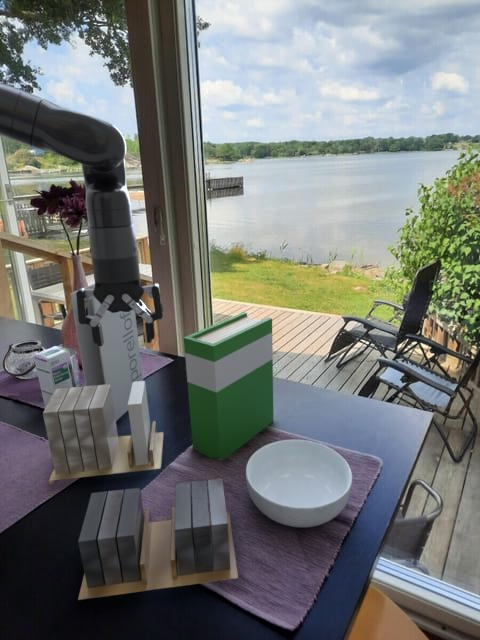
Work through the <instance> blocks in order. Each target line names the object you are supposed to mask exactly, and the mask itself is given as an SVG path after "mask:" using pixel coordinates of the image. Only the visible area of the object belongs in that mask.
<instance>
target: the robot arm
mask: <svg viewBox="0 0 480 640" xmlns="http://www.w3.org/2000/svg"><path fill="white" fill-rule="evenodd" d="M0 137H4V138H7V139H9V140H11V141H14V142H17V143H19V144H23V145H25V146H28V147H30V148H34V149H38V150H41V151H43V152H50V153H54V154H57V155H59V156H61V157H64V158H66V159H68V160H70V161H74V162H76V163H78V164H81V170H82V175H83V180H84V186H85V208H86V217H87V223H88V224H87V225H88V243H89V254H90V258H91V259H90V260H91V265H92V266H91V267H92V272H93V281H94V284H95V288H94V289H86V288H85V287H84V286H81V287H80V288H79V289H78V290H76V291H77V293H76V297H77V308H78V320H79V323H80V324H87V325H90V326H91V328H92V335H93V341H94V343H95V344H96V343H97V345H98V346H103V344H104V339H103V331H102V324H101V323H100V320H101V318H102V317H103V315H104V314H105V312H106V311H107V310H108V311H110V312H111V313H116V312H119V311H122V312H130V311H131V310H134V311H135V314H136V315H138V316H140V317H141V318H142V320H143V321H144V322H145V323H144V328H145V335H146V336H145V337H146V342H147V344H151V343H152V341H153V340H155V337H156V327H155V321H158V320H162V319H163V317H164V307H163V300H162V294H161V287H160V284H159V283H158V282H154V283H153V284H152V285H143V283H142V281H141V272H140V264H139V253H138V244H137V236H136V232H135V228H134V220H133V211H132V201H131V198H130V194H129V191H128V187H127V175H126V174H127V173H126V161H125V157H126V155H127V142H126V140H125V139H126V138H124V135H123V133H122V132H121V131H120V130H119V128H117V127H116V126H115V125H113V124H112V123H109V122H107V121H106V120H103V119H100V118H98V117H95V116H92V115H89V114H86V113H82V112H80V111H76V110H72V109H69V108H65V107H62V106H60V105H58V104H55V103H54V102H52V101H50V100H47V99H46V98H43V97H40V96H37V95H35V94H33V93H30V92H27V91H25V90H23V89H21V88H18V87H14V86H12V85H9V84H6V83H2V82H0ZM144 293H146V294H147V297H148V298H150V299H152V301H153V307H154V311H151V310H150V309H148V307H147V305H146V304H145V303H144V302H143V300H142V299H141V298H142V297H143V295H144ZM93 295H94V297H95V298H96V299H97V300H98V301H99V302H100V303H101V304H102V305H101V306H100V308H99V309H98V311H97V312H96V314H95V315H94V316H90V315H89V313H88V301H89V300H90V299H91V296H93Z"/></svg>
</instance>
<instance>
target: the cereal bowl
mask: <svg viewBox="0 0 480 640" xmlns="http://www.w3.org/2000/svg"><path fill="white" fill-rule="evenodd" d="M245 480H246V488H247V492H248V495H249V497H250V499H251V501H252V502H253V504H254V505H255V506H256V508H257V510H259V511H260V512H261V513H262V514H263V515H264V516H265V517H267V518H269V519H270V520H272V521H274V522H276V523H278V524H280V525H283V526H286V527H287V526H289V527H293V528H313V527H316V526H320V525H323V524H326V523H328V522H330V521H331V520H333V519H334V518H336V517H337V516H338V515H339V514H341V513H342V511H343V509H345V508H346V505H347V504H348V501H349V499H350V497H351V493H352V487H353V473H352V469H351V467H350V465H349V463H348V462H347V461H346V459H345V457H343V456H342V455H341V454H339V452H337V451H336V450H334V449H332V448H331V447H329V446H327V445H324V444H322V443H319V442H316V441H311V440H306V439H305V440H304V439H282V440H277V441H274V442H271V443H267V444H266V445H264V446H261V447H260V448H258V449H257V450H256V451H255V452H253V454H252V455H251V456H250V458H249V459H248V461H247V463H246V467H245Z"/></svg>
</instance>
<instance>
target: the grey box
mask: <svg viewBox="0 0 480 640" xmlns="http://www.w3.org/2000/svg"><path fill="white" fill-rule="evenodd" d="M84 288H86V289H94V288H95V283H93V284H90V285H87V286H85V287H84ZM77 291H78V290H75V291H73V292H70V293H69V295H70V301H71V308H72V314H73V320H74V326H75V332H76V338H77V344H78V350H79V356H80V362H81V367H82V373H83V379H84V384H85V386H94V385H97V386H98V385H106V384H110V386H111V392H112V399H113V406H114V413H115V419H116V422H117V421H118V420H119V419H120V418H121V417H123V415H125V414H126V413H127V412H129V411H128V401H129V397H130V392H131V388H132V383H133V382H138V381H144V375H143V367H142V359H141V351H140V342H139V334H138V325H137V324H138V323H137V317H136V312H135V311H134V310H131V311H130V312H122V311H119V312H116V313H111V312H110V311H108V310H107V311H106V312H105V314H104V315H103V317H102V318H101V320H100V323H101V324H102V331H103V339H104V344H103V346H98V345H97V343H96V344H95V343H94V341H93V335H92V328H91V326H90V325H87V324H80V323H79V320H78V308H77V297H76V293H77ZM101 305H102V304H101V303H100V302H99V301H98V300H97V299H96V298H95V297H94V295H93V296H91V299H90V300H89V301H88V313H89V315H90V316H94V315H95V314H96V312H97V311H98V309H99V308H100V306H101Z"/></svg>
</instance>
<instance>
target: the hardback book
mask: <svg viewBox="0 0 480 640" xmlns="http://www.w3.org/2000/svg"><path fill="white" fill-rule="evenodd" d="M183 347H184V358H185V371H186V380H187V381H186V384H187V394H188V405H189V406H188V407H189V416H190V417H189V418H190V429H191V440H192V441H191V442H192V449H193V450H195V451H197V452H199V453H201V454H203V455H205V456H207V457H209V458H212V459H213V460H223V459H227V458H229V457H230V456H231V455H232V454H233V453H235V452H236V451H237V450H238V449H240V448H241V447H243V446H244V445H245V444H247V443H248V442H249V441H250V440H251V439H253V438H254V437H256V435H259V433H260V432H262V431H263V430H265V428H267V427H268V426H269V425H270V424H272V423H273V422H274V370H273V369H274V360H273V359H274V358H273V357H274V356H273V355H274V351H273V318H272V317H267V318H264V319H262V320H261V319H257V318H253V317H248V313H247V312H244V311H243V312H241V313H238V314H236V315H233V316H231V317H229V318H227V319H224V320H222V321H220V322H217V323H215V324H212V325H210V326H208V327H206V328H203V329H201V330H198V331H196V332H194V333H191V334H189V335H187V336H184V337H183Z"/></svg>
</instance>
